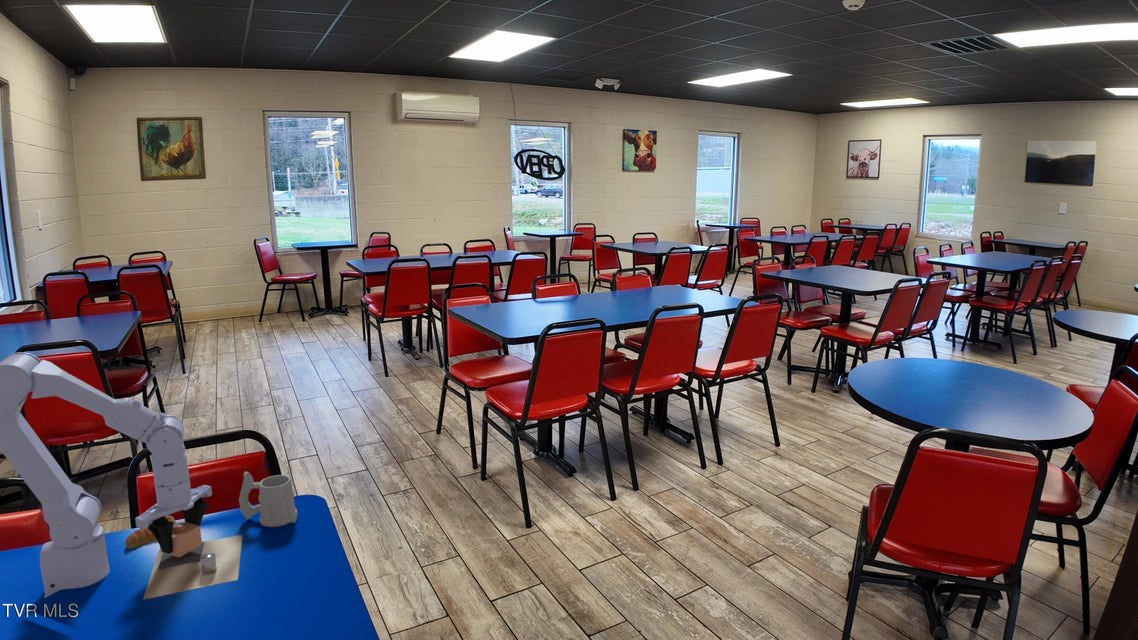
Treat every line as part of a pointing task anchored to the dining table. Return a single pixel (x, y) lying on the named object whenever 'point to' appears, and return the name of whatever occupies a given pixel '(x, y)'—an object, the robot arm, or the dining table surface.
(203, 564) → the post
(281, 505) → the mug
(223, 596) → the dining table surface
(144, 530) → the pastry
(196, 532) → the beige toy brick
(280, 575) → the dining table surface
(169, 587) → the base board
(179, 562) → the rest pad
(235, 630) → the dining table surface
